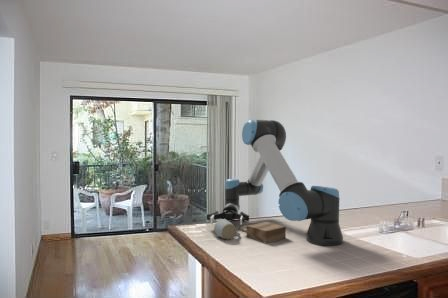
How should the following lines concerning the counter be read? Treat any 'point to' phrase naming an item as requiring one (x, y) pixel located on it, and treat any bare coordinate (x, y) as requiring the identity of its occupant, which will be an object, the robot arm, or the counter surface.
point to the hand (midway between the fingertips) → (226, 221)
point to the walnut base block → (266, 232)
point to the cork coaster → (243, 228)
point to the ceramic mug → (225, 229)
